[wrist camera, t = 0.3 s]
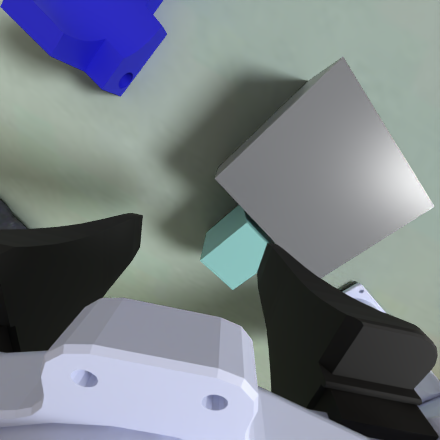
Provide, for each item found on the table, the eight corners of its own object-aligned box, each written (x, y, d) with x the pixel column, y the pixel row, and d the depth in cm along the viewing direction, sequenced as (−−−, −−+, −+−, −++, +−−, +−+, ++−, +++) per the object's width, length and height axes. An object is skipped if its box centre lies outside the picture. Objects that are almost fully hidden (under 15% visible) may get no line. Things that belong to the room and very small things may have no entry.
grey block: (381, 188, 20) (434, 206, 15) (294, 250, 22) (313, 283, 17) (308, 80, 17) (343, 56, 12) (218, 167, 19) (214, 178, 14)
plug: (337, 175, 19) (375, 188, 14) (231, 256, 23) (232, 290, 18) (312, 141, 18) (343, 143, 13) (206, 232, 22) (200, 260, 17)
